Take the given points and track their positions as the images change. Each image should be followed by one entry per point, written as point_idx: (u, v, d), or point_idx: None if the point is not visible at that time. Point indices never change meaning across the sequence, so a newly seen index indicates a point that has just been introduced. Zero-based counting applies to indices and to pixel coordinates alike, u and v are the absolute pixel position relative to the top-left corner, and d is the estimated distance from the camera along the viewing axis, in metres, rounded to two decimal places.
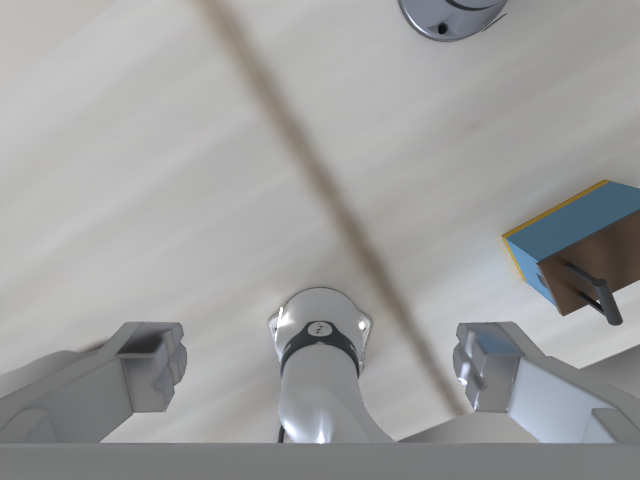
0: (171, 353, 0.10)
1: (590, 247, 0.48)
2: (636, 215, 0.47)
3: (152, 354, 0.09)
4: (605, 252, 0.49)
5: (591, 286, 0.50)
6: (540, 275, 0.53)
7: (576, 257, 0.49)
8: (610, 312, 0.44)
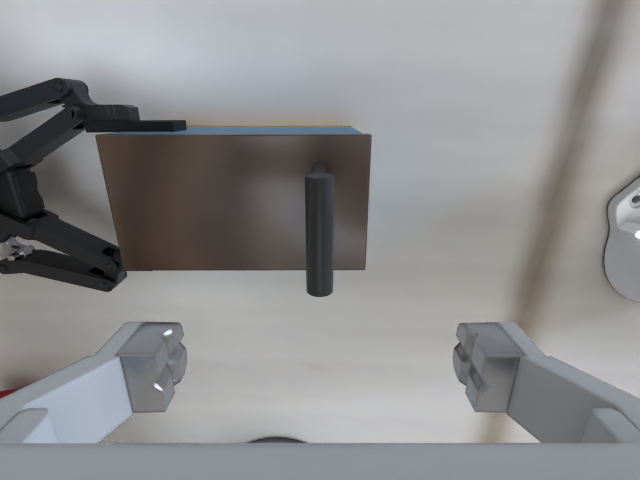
0: (171, 353, 0.10)
1: (273, 256, 0.26)
2: None
3: (152, 354, 0.09)
4: (250, 232, 0.25)
5: (295, 175, 0.24)
6: None
7: (301, 251, 0.26)
8: (327, 221, 0.18)
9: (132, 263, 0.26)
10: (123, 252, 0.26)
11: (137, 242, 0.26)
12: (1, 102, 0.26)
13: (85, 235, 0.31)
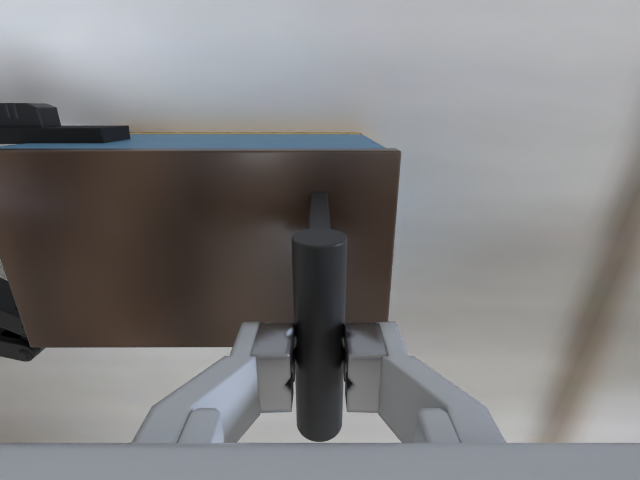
0: None
1: None
2: None
3: (287, 354, 0.09)
4: (216, 294, 0.17)
5: (281, 212, 0.16)
6: None
7: (291, 320, 0.17)
8: (334, 321, 0.10)
9: (42, 338, 0.18)
10: (27, 323, 0.17)
11: (46, 309, 0.17)
12: None
13: None
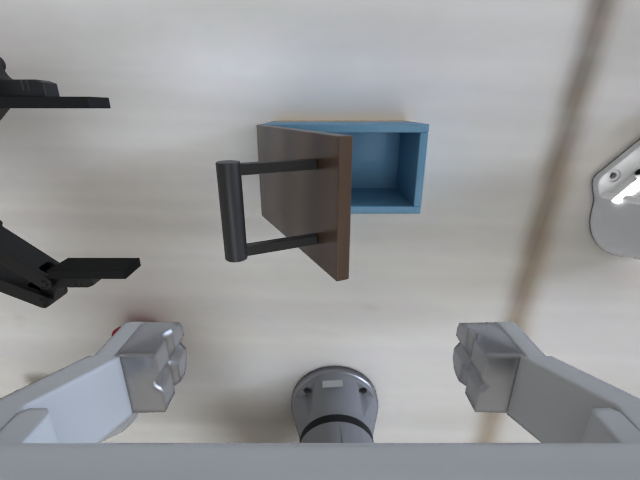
0: (171, 353, 0.10)
1: (299, 236, 0.30)
2: None
3: (152, 354, 0.09)
4: (292, 210, 0.31)
5: None
6: None
7: None
8: (223, 199, 0.23)
9: (263, 212, 0.39)
10: (261, 203, 0.39)
11: (264, 198, 0.38)
12: None
13: (26, 246, 0.31)
